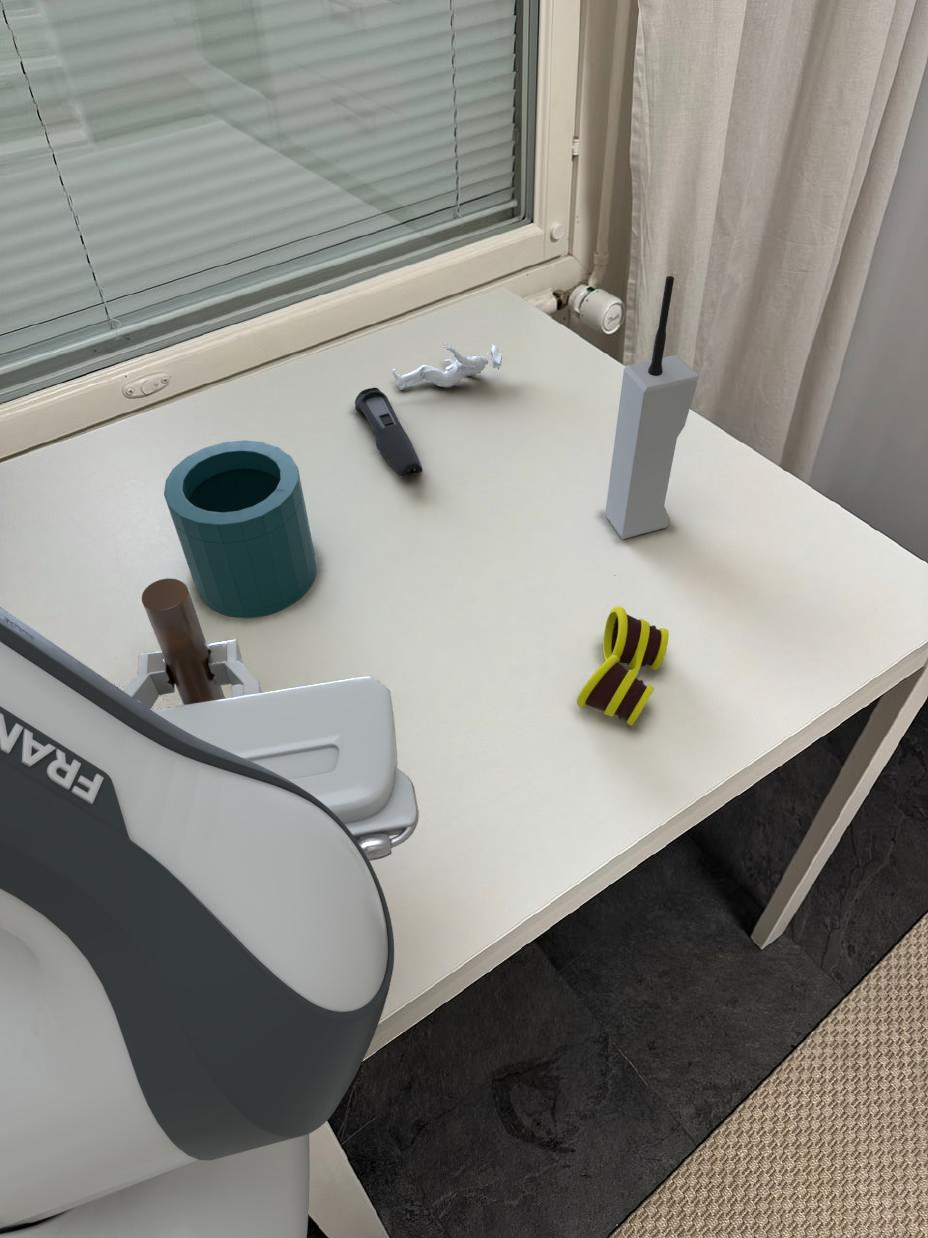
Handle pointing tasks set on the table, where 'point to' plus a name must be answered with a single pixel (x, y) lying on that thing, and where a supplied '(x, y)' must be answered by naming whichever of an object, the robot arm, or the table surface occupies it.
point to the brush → (181, 640)
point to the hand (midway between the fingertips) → (191, 653)
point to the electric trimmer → (388, 432)
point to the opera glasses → (614, 682)
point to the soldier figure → (449, 369)
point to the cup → (243, 527)
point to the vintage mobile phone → (648, 435)
